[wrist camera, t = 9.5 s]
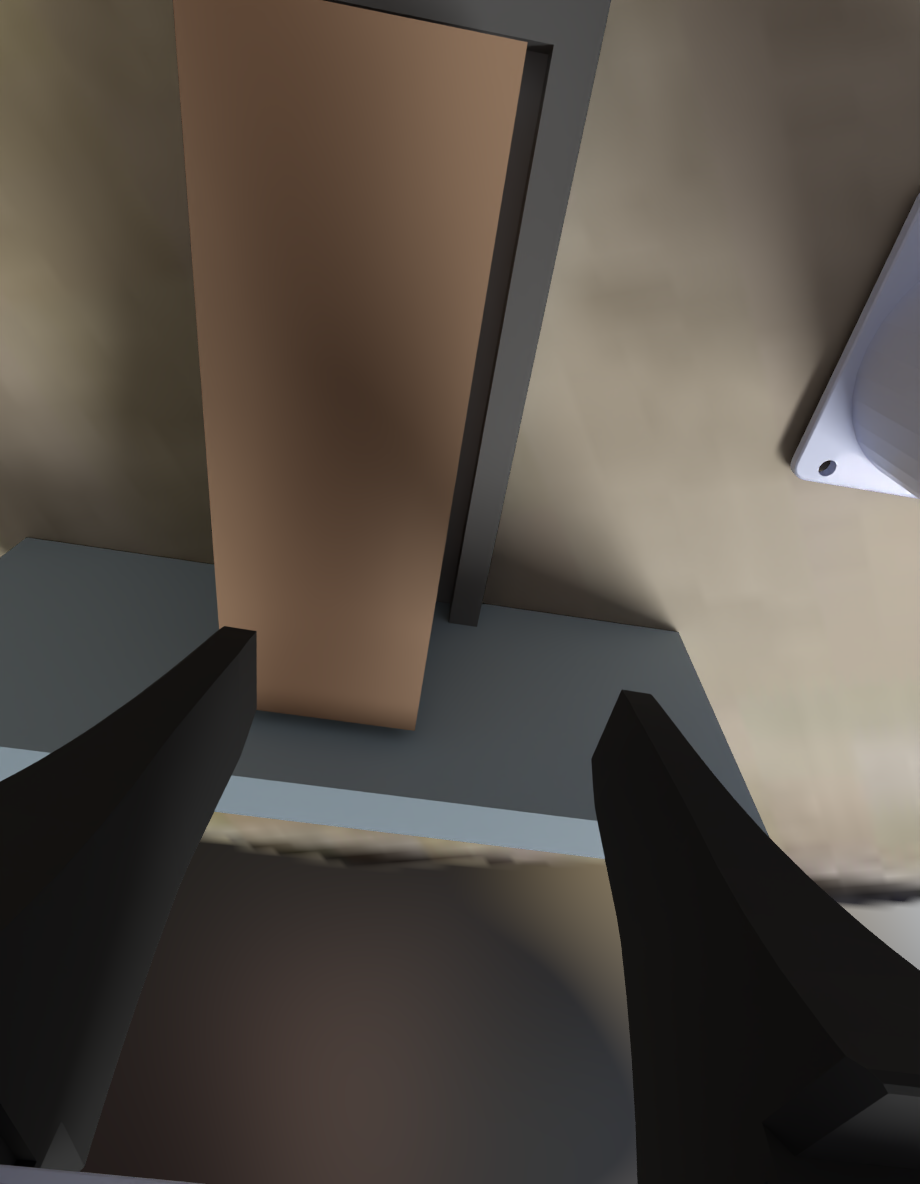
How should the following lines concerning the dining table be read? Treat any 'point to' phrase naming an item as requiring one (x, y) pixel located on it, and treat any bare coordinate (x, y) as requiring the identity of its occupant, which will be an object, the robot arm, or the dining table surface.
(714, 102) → the dining table surface
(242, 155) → the brown wooden block
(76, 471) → the dining table surface
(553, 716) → the wall board
